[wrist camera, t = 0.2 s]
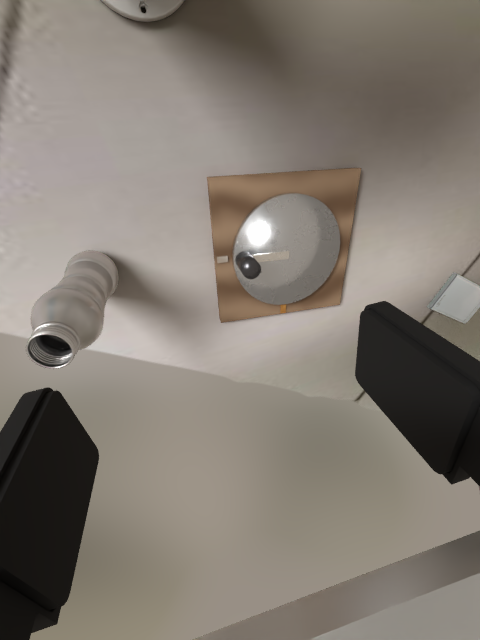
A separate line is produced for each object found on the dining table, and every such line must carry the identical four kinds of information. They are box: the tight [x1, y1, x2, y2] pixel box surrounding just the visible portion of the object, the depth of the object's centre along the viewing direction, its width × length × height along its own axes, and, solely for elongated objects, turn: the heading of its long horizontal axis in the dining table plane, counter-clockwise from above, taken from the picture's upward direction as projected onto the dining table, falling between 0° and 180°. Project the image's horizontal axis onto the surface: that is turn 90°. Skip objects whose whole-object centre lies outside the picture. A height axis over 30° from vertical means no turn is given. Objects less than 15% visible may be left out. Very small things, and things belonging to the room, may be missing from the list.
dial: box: [232, 193, 340, 305], centre depth 42 cm, size 17×17×6 cm
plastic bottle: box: [26, 251, 119, 369], centre depth 32 cm, size 6×7×20 cm
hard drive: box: [427, 272, 480, 324], centre depth 60 cm, size 2×8×12 cm
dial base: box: [207, 168, 361, 323], centre depth 45 cm, size 22×22×2 cm
